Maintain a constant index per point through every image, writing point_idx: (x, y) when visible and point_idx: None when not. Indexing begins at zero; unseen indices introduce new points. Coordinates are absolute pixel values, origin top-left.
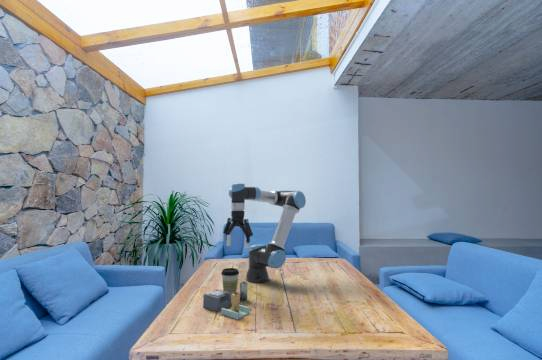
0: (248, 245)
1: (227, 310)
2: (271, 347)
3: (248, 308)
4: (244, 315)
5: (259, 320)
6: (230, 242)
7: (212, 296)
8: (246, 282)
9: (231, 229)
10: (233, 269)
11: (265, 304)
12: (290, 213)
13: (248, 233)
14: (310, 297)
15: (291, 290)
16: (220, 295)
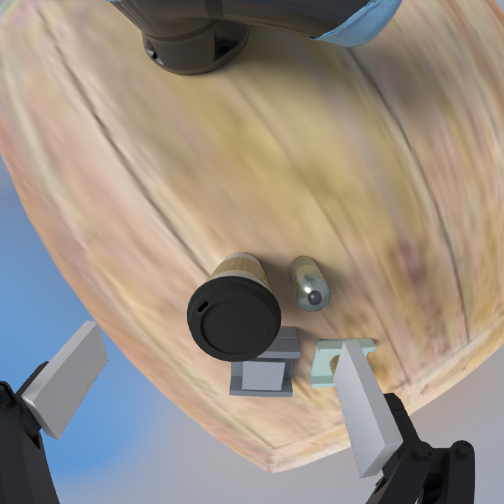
0: (364, 363)
1: (331, 386)
2: (439, 395)
3: (374, 349)
4: (366, 355)
5: (405, 350)
6: (83, 345)
7: (268, 396)
8: (319, 282)
9: (45, 494)
10: (228, 298)
11: (386, 262)
12: None
13: (425, 501)
14: (466, 134)
15: (397, 86)
16: (282, 379)
